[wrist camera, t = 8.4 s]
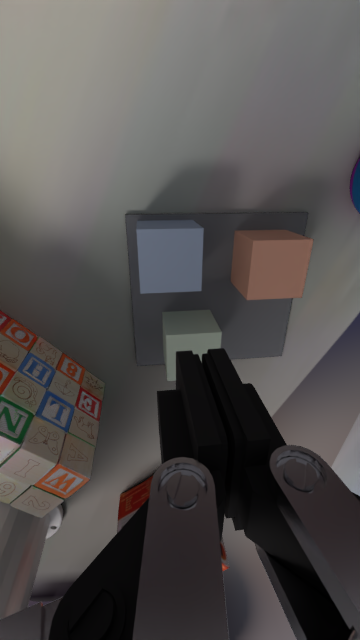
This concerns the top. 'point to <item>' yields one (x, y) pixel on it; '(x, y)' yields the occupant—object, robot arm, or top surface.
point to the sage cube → (188, 335)
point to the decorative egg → (355, 186)
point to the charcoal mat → (213, 289)
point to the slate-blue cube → (170, 256)
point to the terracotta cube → (270, 263)
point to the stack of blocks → (44, 421)
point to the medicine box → (136, 499)
